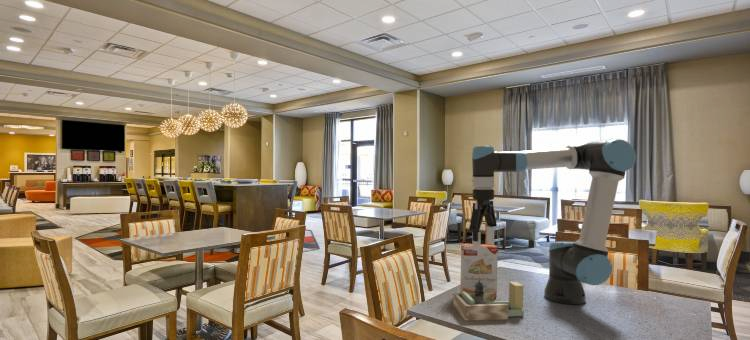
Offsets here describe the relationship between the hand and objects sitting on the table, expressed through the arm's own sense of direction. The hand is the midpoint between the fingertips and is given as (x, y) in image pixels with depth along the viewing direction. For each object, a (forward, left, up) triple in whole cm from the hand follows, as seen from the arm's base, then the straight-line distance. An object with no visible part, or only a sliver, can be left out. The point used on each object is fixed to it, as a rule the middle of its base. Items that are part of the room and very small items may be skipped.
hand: (483, 247), depth 143 cm
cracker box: (-6, -19, -24) cm, 31 cm away
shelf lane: (+1, 0, -24) cm, 24 cm away
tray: (-4, 0, -24) cm, 24 cm away
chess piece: (+1, 0, -24) cm, 24 cm away
